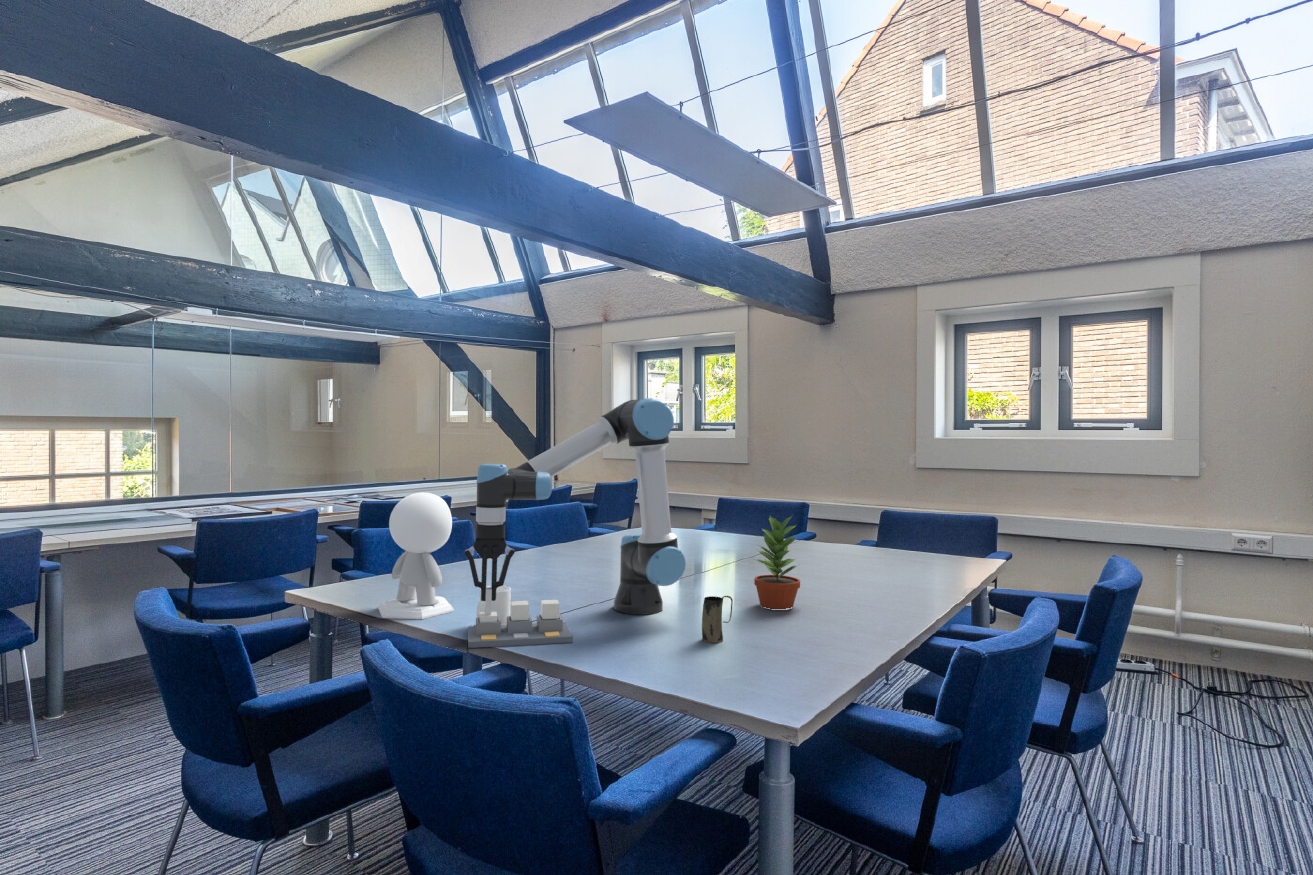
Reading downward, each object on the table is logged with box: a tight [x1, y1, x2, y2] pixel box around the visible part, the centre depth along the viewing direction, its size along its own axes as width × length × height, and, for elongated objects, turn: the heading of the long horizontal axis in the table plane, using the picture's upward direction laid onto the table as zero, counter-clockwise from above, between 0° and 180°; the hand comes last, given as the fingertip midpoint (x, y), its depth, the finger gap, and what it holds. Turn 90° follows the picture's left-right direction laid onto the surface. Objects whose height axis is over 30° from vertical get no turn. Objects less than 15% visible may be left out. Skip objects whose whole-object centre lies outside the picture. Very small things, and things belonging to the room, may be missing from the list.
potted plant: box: [753, 514, 801, 609], centre depth 221 cm, size 15×15×30 cm
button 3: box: [479, 612, 497, 623], centre depth 181 cm, size 4×4×4 cm
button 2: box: [510, 600, 530, 621], centre depth 183 cm, size 4×4×4 cm
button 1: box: [540, 599, 560, 619], centre depth 185 cm, size 4×4×4 cm
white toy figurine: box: [377, 491, 455, 620], centre depth 206 cm, size 20×23×35 cm
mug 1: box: [476, 585, 512, 625], centre depth 190 cm, size 12×8×10 cm
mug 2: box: [701, 595, 734, 644], centre depth 183 cm, size 8×6×12 cm
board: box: [467, 613, 574, 649], centre depth 181 cm, size 26×14×4 cm, turn 105°
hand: (488, 613), depth 181 cm, fingers closed
